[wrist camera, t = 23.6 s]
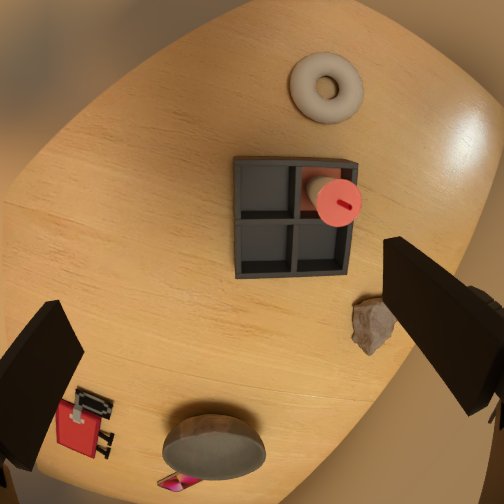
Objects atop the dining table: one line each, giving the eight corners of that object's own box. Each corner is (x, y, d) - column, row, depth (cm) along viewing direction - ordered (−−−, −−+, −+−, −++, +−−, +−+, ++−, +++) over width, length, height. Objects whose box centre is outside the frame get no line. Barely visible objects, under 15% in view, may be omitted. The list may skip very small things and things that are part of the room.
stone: (381, 337, 53) (394, 356, 48) (342, 339, 53) (353, 360, 47) (396, 290, 50) (412, 308, 44) (355, 291, 49) (368, 310, 44)
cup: (320, 160, 40) (355, 173, 29) (343, 190, 42) (382, 213, 31) (290, 185, 41) (314, 207, 30) (314, 215, 43) (344, 246, 32)
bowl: (182, 451, 63) (180, 484, 54) (153, 398, 55) (146, 437, 46) (266, 443, 63) (271, 477, 54) (254, 388, 56) (259, 429, 46)
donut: (300, 132, 39) (366, 115, 39) (306, 132, 36) (377, 115, 36) (277, 63, 36) (345, 49, 35) (281, 58, 32) (354, 44, 32)
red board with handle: (122, 404, 55) (57, 376, 52) (119, 414, 52) (52, 385, 49) (108, 459, 65) (58, 438, 62) (105, 467, 62) (55, 446, 59)
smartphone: (206, 478, 68) (176, 492, 71) (206, 476, 69) (176, 490, 72) (183, 470, 65) (155, 485, 69) (183, 467, 66) (155, 482, 69)
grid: (233, 156, 40) (234, 159, 36) (345, 159, 41) (358, 163, 37) (234, 264, 46) (235, 279, 41) (336, 261, 47) (347, 275, 43)
